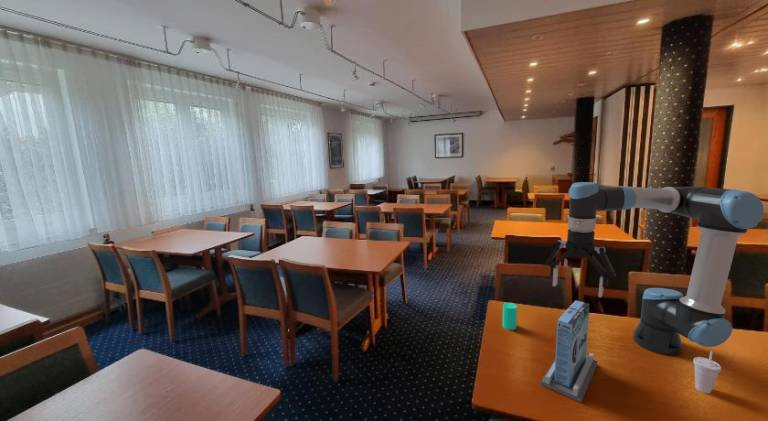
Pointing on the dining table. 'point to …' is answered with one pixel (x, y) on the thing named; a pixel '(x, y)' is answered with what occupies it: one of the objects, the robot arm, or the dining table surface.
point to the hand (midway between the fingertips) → (576, 290)
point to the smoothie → (705, 373)
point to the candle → (509, 316)
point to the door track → (578, 384)
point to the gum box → (571, 342)
